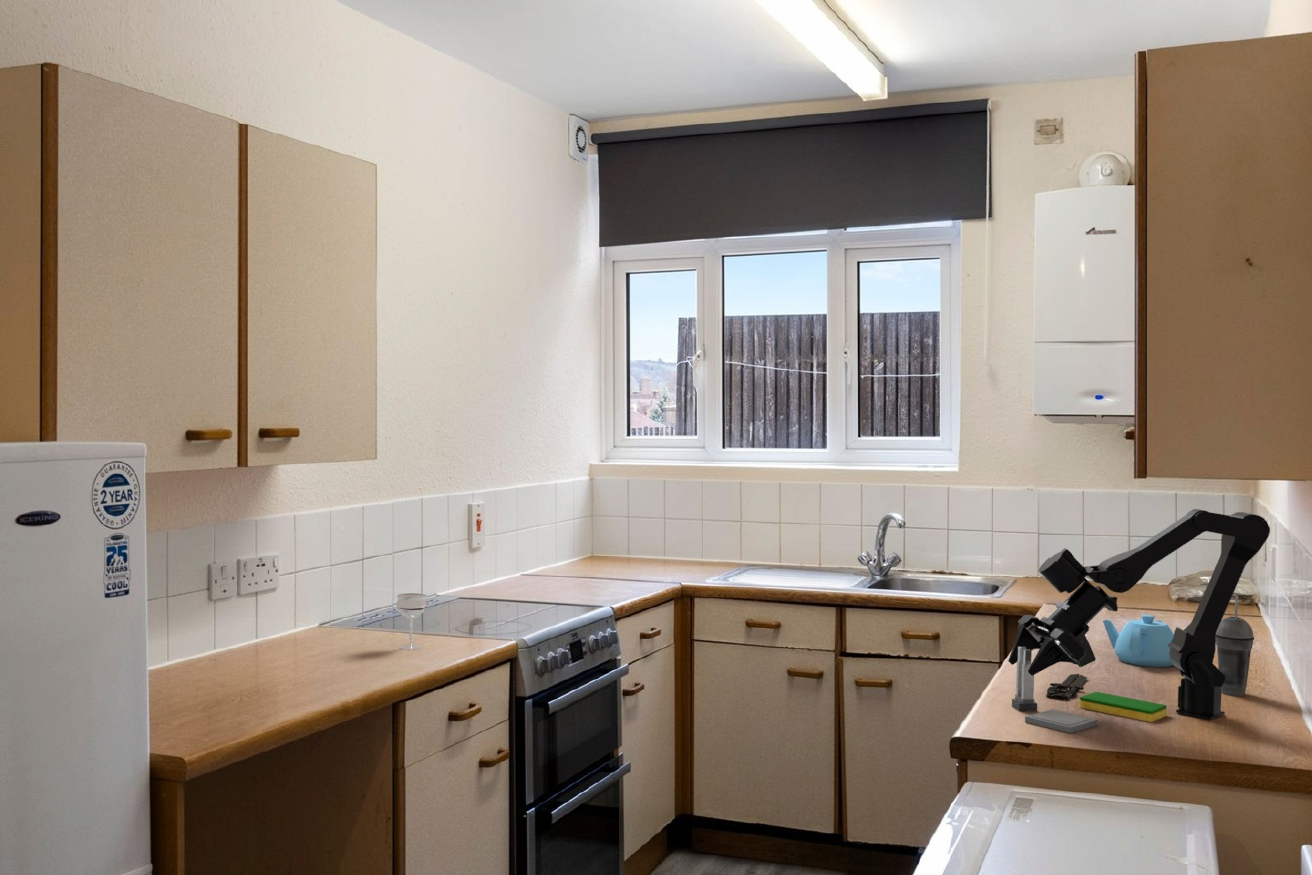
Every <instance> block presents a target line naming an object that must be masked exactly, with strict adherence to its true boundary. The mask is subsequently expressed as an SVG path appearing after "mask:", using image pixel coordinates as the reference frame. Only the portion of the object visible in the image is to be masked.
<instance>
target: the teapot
mask: <svg viewBox="0 0 1312 875" xmlns="http://www.w3.org/2000/svg"><path fill="white" fill-rule="evenodd" d="M1155 618H1156V617H1155V615H1153V614H1141V619H1131V620H1129V621H1128V622H1127V623H1126V624H1125V625H1124V627H1123V628H1122V629H1121V631H1120V632H1118V630H1117V628H1116V627H1115V626H1114V624H1113V622H1112V620H1111V619H1103V620H1102V624H1103V625H1104V628H1105V630H1106V633H1107V636H1108V639H1109V642H1110V643H1111V644H1110V645H1111V647H1112V649H1113V650H1114V653H1115V655H1116V656H1117V658H1118V659H1119V661H1121V662H1123V663H1126V662H1127V664H1129V663H1130V665H1134V664H1135V665H1134V666H1141V667H1151V668H1168V667H1172V666H1175V665H1174V664H1173V663H1172V661H1171V659H1170V657H1169V651H1170V647H1168V644H1169V643H1170V642H1171V641H1172V639H1173V637H1174V632H1173V631H1172V629H1171V627H1170V626H1169V624H1167V623H1166V622H1163V621H1162V620H1155Z"/></svg>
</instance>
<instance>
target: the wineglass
mask: <svg viewBox="0 0 1312 875" xmlns="http://www.w3.org/2000/svg"><path fill="white" fill-rule="evenodd" d="M426 596H427V595H426V594H425V593H416V592H415V593H413V592H409V593H399V594H397V595H396V598H397V600H396V603H395V604H396V606H395V607H396V610H397V611H398V613H399V614H400V615H401V616H403V617H404V618H407V621H409V623H408V624H409V643H408V644H405V645H402V646H399V649H401V650H404V651H405V650H406V651H407V650H408V651H409V650H410V651H411V650H412V651H413V650H420V649H421V648H422V646H420V645H417V644H415V643H412V642H413V640H412V639H413V623H414V622H413V621H414V620H415V619H416V618H417V617H420V616H421V615H422V614H423V612H425V610H426V608H427V602H426Z"/></svg>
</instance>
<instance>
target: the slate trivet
mask: <svg viewBox="0 0 1312 875" xmlns="http://www.w3.org/2000/svg"><path fill="white" fill-rule="evenodd" d="M1024 722H1025V723H1028V724H1031V725H1036V726H1040V727H1042V728H1043V727H1045V728H1047V729H1050V730H1051V729H1052V730H1056V731H1061V732H1063V733H1069V734H1072V733H1077V732H1079V731H1082V730H1086V729H1089V728H1092V727H1096V726H1099V723H1098V722H1099V720H1098V719H1096V718H1092V717H1088V716H1084V715H1079V714H1075V713H1070V712H1066V711H1062V710H1057V709H1054V708H1052V709H1049V710H1045V711H1040V712H1038V713H1033V714H1030V715H1026V716H1024Z"/></svg>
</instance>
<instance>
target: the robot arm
mask: <svg viewBox="0 0 1312 875" xmlns="http://www.w3.org/2000/svg"><path fill="white" fill-rule="evenodd" d="M1205 532H1209V533H1214V534H1219V535H1221V537H1220V538H1221V540H1220V541H1221V542H1220V548H1221V549H1220V556H1219V558H1218V560H1217V563H1216V564H1215V565H1216V566H1215V567H1214V569H1213V572H1212V573H1211V574H1212V575H1211V577H1210V579H1209V581H1208V584H1207V585H1206V588H1205V590H1204V592H1203V595H1202V597H1201V599H1200V602H1199V604H1198V606H1197V608H1196V611H1195V613H1194V616H1193V618H1192V620H1191V622H1190V623H1189V624H1188V625H1187V626H1186V627H1185V628H1184V629H1182V628H1180V627H1178V626H1177V627H1176V628H1175V630H1174V632H1173V634H1174V637H1173V639H1172V641H1171V642H1170V643H1169V644H1168V647H1170V651H1169V657H1170V659H1171V661H1172V663H1173V664H1174V665H1173V666H1174V667H1176V668H1177V669H1178V671H1179V674H1180V676H1182V677H1183V678H1180V685H1178V687H1177V691H1178V692H1177V709H1175V713H1177V714H1181V715H1186V716H1192V717H1197V718H1201V719H1206V720H1213V719H1215V718H1216V719H1217V718H1219V717H1223V716H1225V714H1226V712H1225V711H1222V693H1221V687H1222V685H1223V683H1224V681H1225V678H1226V676H1225V675H1224V674H1223V673H1222V672H1221V671H1220V670H1219V669H1218V667H1217V666H1216V665H1215V664H1214V659H1215V655H1216V654H1215V653H1216V652H1217V645H1216V632H1217V630H1218V627H1219V625H1220V623H1221V621H1222V620H1223V619H1224V615H1225V614H1226V611H1227V609H1228V606H1229V604H1230V602H1231V600H1232V597H1233V595H1234V593H1235V591H1236V588H1237V586H1238V584H1239V581H1240V579H1241V577H1242V575H1243V572H1244V571H1245V567H1246V566H1247V564H1248V563H1249V562H1250V561H1251V560H1252V559H1253V557H1255V556H1256V555H1257V554H1258V553H1259V552H1260V550H1261V549H1262V547H1263V546H1264V544H1265V543H1266V542H1267V540H1268V539H1269V536H1270V533H1271V528H1270V525H1269V523H1268V522H1267V520H1266V519H1265V518H1264V517H1262V516H1261V515H1260V514H1258V515H1257V514H1253V513H1249V512H1244V511H1238V512H1234V513H1231V514H1230V515H1229V514H1228V515H1227V514H1222V513H1217V512H1209V511H1207V510H1203V509H1199V508H1194V509H1191V510H1189V511H1188V512H1187V513H1186V514H1185V515H1184V516H1182V517H1181V518H1180V519H1178V520H1175V522H1174V523H1172V524H1170V525H1169V526H1167V527H1166V528H1164V529H1162V530H1161V531H1160V532H1158V533H1156V534H1155V535H1153V536H1152V537H1151V538H1149V539H1147V540H1146V541H1145V542H1143V543H1141V544H1140V545H1138V546H1137V547H1134V548H1133V549H1130V550H1128V551H1124V552H1121V553H1118V554H1116V555H1113V556H1111V557H1109V558H1107V559H1104V560H1103V561H1101V562H1100V563H1099V564H1097V565H1090V566H1088V565H1087V566H1083V564H1082V563H1080V562H1079V561H1078V560H1077V558H1075V556H1074V555H1073V554H1072V552H1071V551H1070V550H1069V549H1067V548H1063V549H1061V550H1060V551H1059V552H1057V553H1055V554H1053V555H1052V556H1050V557H1048V558H1047V559H1046V560H1045V561H1044V562H1043V563H1042V564H1041V565H1040V567H1039V568H1038V572H1039V573H1040V574H1041V575H1042V577H1044V579H1045V580H1046V581H1047V582H1048V583H1049V584H1050V585H1051V586H1052V587H1054V589H1055V590H1056V591H1057V592H1058V593H1060V594H1062V593H1065V592H1066V593H1067V594H1070V593H1072V592H1073V593H1072V594H1070V595H1069V597H1068V598H1067V599H1065V600H1064V602H1061V601H1058V602H1057V603H1056V604H1055V605H1054V606H1055V607H1056V609H1055V610H1054V611H1053V612H1052V613H1051V615H1049V616H1048V617H1046V616H1042V617H1041V619H1040V618H1038V617H1037V616H1034V615H1032V614H1024V615H1023V616H1021V618H1020V619H1019V620H1018V621H1017V622H1018V625H1017V628H1018V629H1017V632H1016V637H1015V640H1014V642H1013V646H1012V649H1011V651H1010V655H1009V658H1008V660H1007V661H1008V662H1009V663H1010V665H1015V664H1017V661H1018V647H1026V649H1030V650H1032V651H1033V650H1038V651H1037V653H1036V654H1035V657H1034V658H1033V660H1032V661H1031V665H1030V668H1029V670H1028V673H1029V674H1030V675H1032V676H1033V675H1034V676H1035V675H1036V674H1039V673H1040V672H1042V671H1044V670H1046V669H1048V668H1050V667H1051V666H1054V665H1056V664H1058V663H1070V664H1073V665H1077V666H1078V667H1079V668H1082V667H1085V666H1087V665H1089V664H1091V663H1093V662H1095V661H1096V656H1095V654H1094V651H1093V649H1092V647H1091V645H1090V642H1089V639H1087V636H1086V634H1087V633H1088V632H1089V631H1090V626H1089V625H1088V624H1089V623H1090V622H1091V621H1092V620H1093V619H1094V618H1095V617H1096V616H1097V615H1098V614H1099V613H1100V612H1101V611H1102V610H1103V609H1104V608H1106V609H1107V610H1108V611H1111V612H1118V609H1119V608H1118V607H1119V606H1118V597H1117V596H1110V595H1109V594H1108V593H1107V592H1106V591H1105V590H1104V589H1103V588H1102V587H1104V588H1106V589H1107V590H1109V591H1111V592H1113V593H1118V594H1123V593H1125V592H1128V591H1130V590H1132V588H1133V587H1134V586H1135V585H1137V584H1138V582H1140V581H1141V579H1142V578H1143V577H1145V574H1146V573H1147V572H1148V571H1149V569H1151V568H1152V567H1153V566H1154V565H1156V564H1157V563H1159V562H1160V561H1162V560H1163V559H1165V558H1166V557H1168V556H1169V555H1170V554H1171V555H1172V553H1174V552H1176V551H1177V550H1179V549H1180V548H1181V547H1183V546H1185V545H1186V544H1188V543H1190V542H1191V541H1192V540H1194V539H1195V538H1197V537H1198V536H1200V535H1201V534H1203V533H1205ZM1088 579H1089V580H1091V581H1092V582H1094V583H1096V584H1100V586H1099V585H1097V586H1094V585H1093V584H1092V583H1090V581H1089V580H1088ZM1101 586H1102V587H1101Z"/></svg>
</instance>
